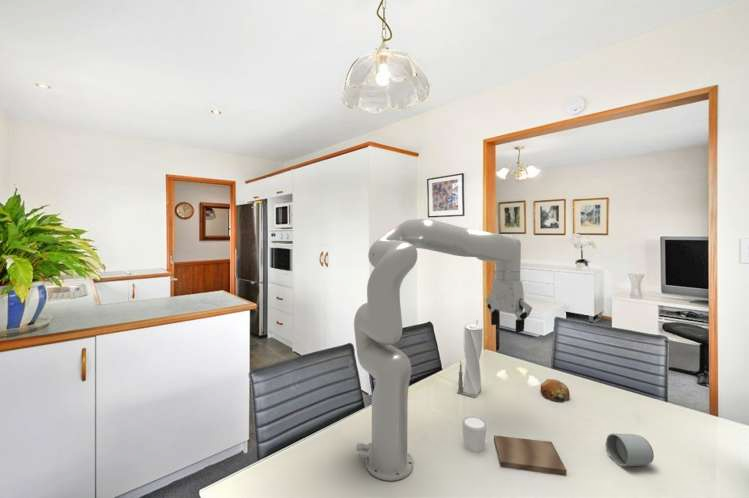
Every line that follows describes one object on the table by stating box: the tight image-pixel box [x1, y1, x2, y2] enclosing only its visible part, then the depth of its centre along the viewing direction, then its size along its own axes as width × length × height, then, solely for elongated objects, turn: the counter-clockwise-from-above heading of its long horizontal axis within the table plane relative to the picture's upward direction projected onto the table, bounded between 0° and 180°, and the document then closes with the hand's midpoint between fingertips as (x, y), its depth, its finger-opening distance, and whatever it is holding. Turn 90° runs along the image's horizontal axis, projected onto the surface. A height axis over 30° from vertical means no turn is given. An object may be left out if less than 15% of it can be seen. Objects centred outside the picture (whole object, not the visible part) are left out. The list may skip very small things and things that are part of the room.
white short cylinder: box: [461, 416, 488, 453], centre depth 98 cm, size 7×7×7 cm
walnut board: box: [493, 434, 568, 477], centre depth 93 cm, size 16×12×2 cm
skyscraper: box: [456, 319, 484, 399], centre depth 131 cm, size 8×8×28 cm
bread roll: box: [540, 378, 570, 403], centre depth 129 cm, size 10×10×8 cm
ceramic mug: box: [604, 433, 655, 467], centre depth 92 cm, size 11×8×8 cm
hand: (506, 327), depth 110 cm, fingers open, 9 cm apart
